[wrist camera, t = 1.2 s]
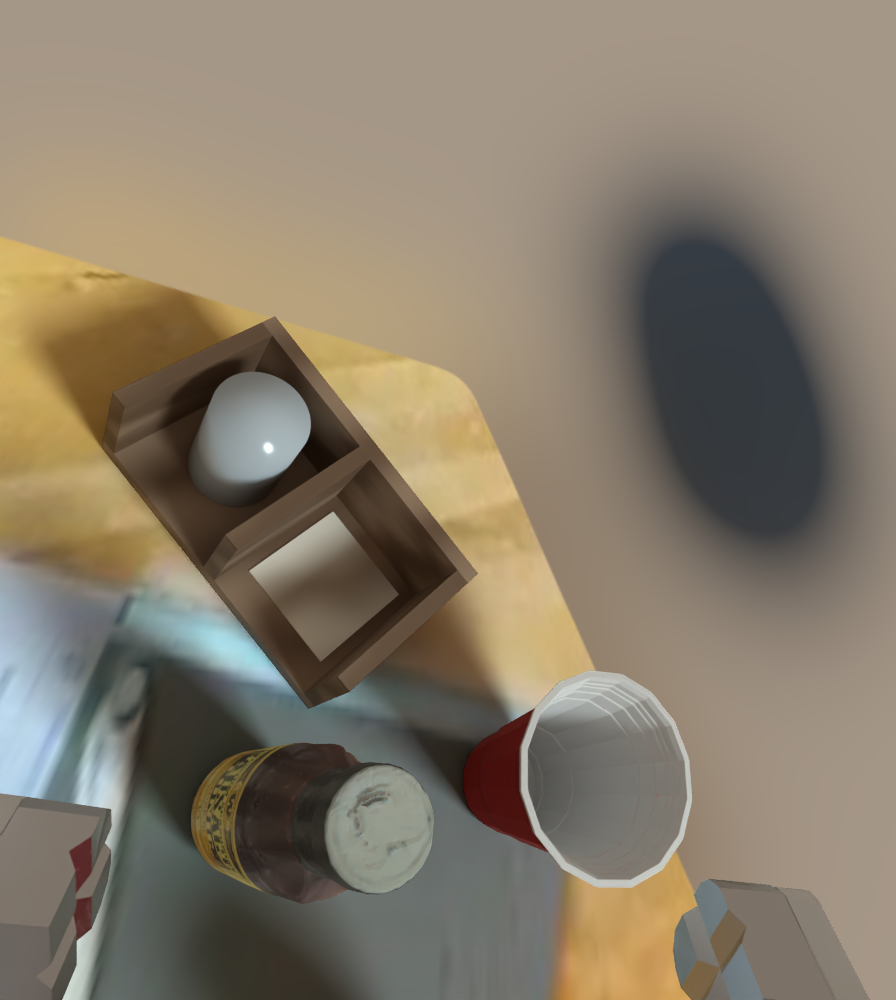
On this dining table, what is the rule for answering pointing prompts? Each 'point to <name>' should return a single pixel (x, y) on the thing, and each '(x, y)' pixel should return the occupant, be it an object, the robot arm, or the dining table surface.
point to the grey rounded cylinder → (248, 438)
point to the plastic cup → (588, 780)
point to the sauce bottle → (312, 822)
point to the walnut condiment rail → (292, 520)
